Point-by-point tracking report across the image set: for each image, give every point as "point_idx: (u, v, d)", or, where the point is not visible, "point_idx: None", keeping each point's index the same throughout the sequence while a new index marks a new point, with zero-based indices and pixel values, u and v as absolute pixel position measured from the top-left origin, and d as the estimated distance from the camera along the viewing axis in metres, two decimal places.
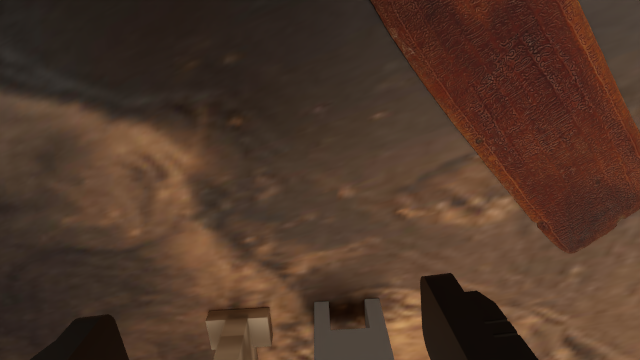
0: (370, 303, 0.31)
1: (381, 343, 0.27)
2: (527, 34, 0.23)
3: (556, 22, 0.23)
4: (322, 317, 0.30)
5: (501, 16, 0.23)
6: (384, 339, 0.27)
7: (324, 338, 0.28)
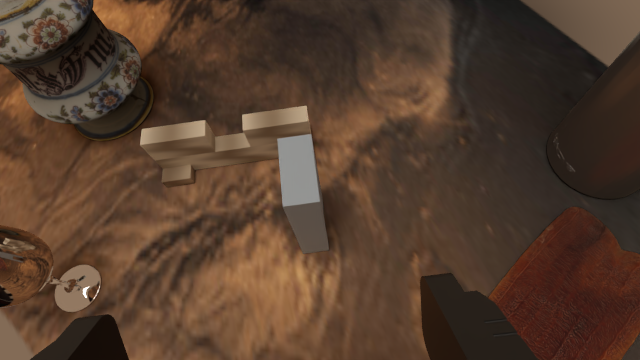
0: None
1: (325, 227, 0.32)
2: (585, 321, 0.31)
3: (601, 342, 0.30)
4: None
5: (589, 297, 0.32)
6: None
7: (320, 188, 0.34)
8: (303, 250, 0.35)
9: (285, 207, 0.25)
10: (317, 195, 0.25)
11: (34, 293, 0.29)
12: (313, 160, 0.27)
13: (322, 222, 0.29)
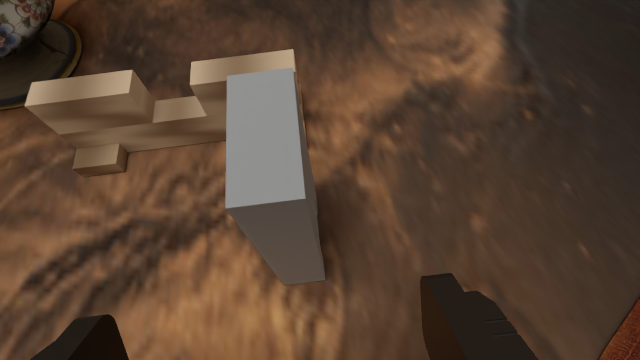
0: (323, 264, 0.22)
1: None
2: None
3: None
4: (315, 194, 0.23)
5: None
6: None
7: (312, 179, 0.21)
8: (283, 280, 0.21)
9: (231, 210, 0.12)
10: (300, 185, 0.12)
11: None
12: (295, 115, 0.13)
13: (312, 239, 0.15)
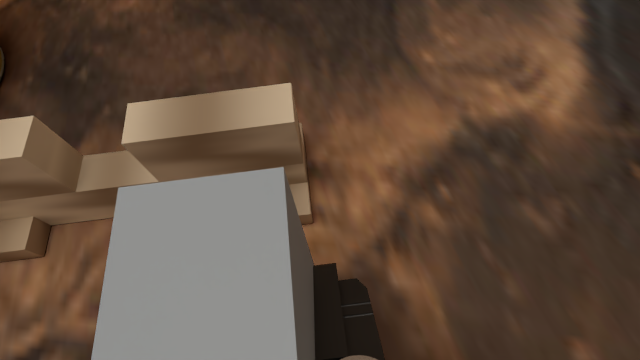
0: None
1: None
2: None
3: None
4: None
5: None
6: None
7: None
8: None
9: None
10: None
11: None
12: (288, 325, 0.05)
13: None
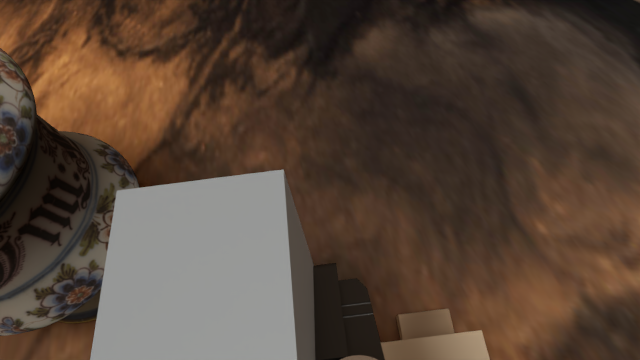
0: None
1: None
2: None
3: None
4: None
5: None
6: None
7: None
8: None
9: None
10: None
11: None
12: (288, 330, 0.05)
13: None
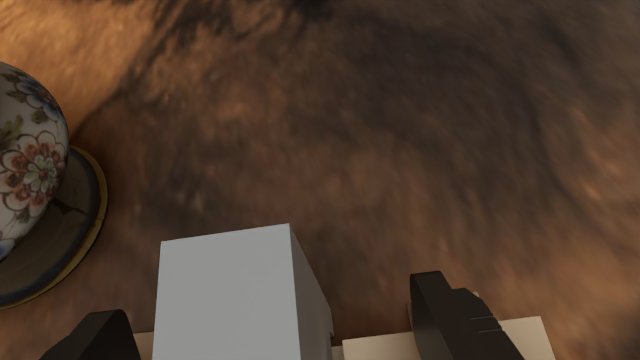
0: None
1: None
2: None
3: None
4: (329, 319, 0.16)
5: None
6: None
7: (326, 314, 0.14)
8: None
9: None
10: None
11: None
12: (295, 351, 0.06)
13: None
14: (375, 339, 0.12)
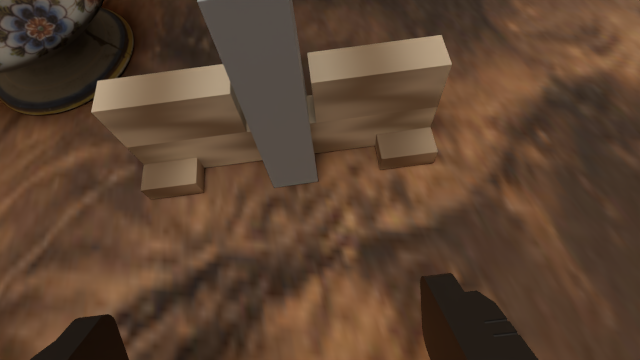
0: None
1: None
2: None
3: None
4: None
5: None
6: (310, 131, 0.17)
7: None
8: (273, 177, 0.20)
9: (204, 6, 0.11)
10: None
11: None
12: None
13: (300, 88, 0.14)
14: (329, 51, 0.17)
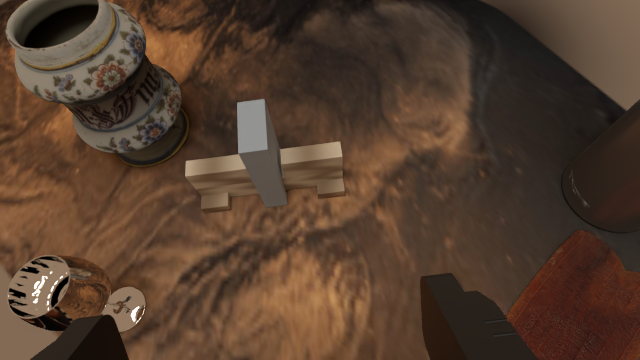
0: (286, 196, 0.42)
1: (280, 180, 0.39)
2: (595, 337, 0.34)
3: (611, 356, 0.33)
4: None
5: (598, 315, 0.35)
6: (281, 184, 0.39)
7: (279, 150, 0.41)
8: (265, 203, 0.42)
9: (240, 154, 0.32)
10: (265, 144, 0.32)
11: None
12: (264, 119, 0.33)
13: (274, 172, 0.36)
14: (290, 148, 0.39)
